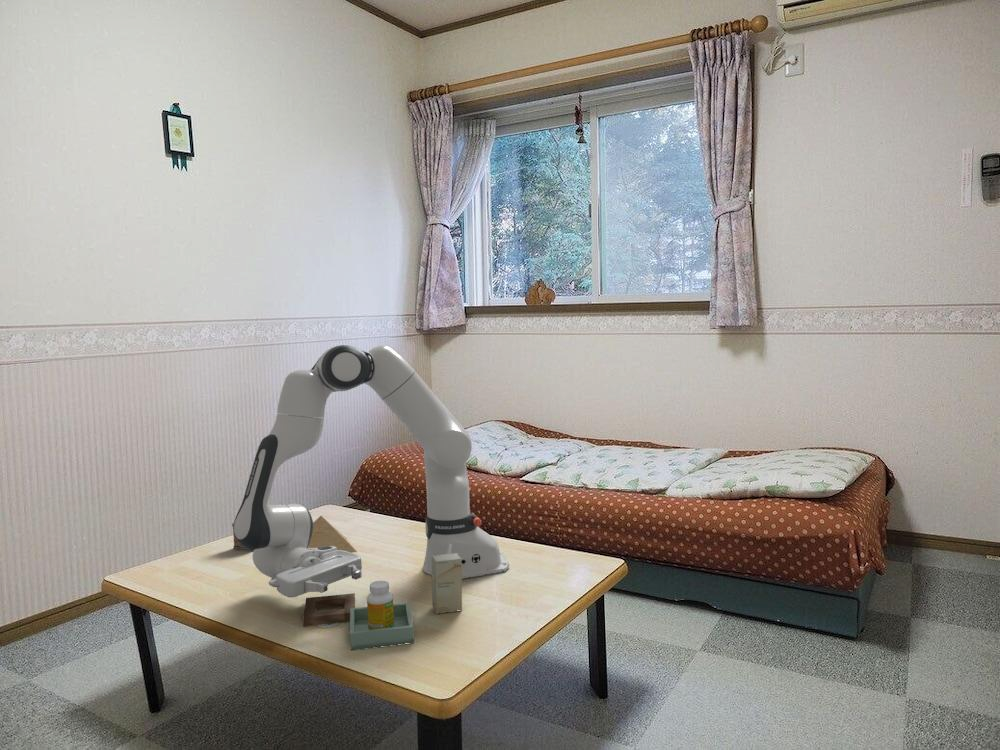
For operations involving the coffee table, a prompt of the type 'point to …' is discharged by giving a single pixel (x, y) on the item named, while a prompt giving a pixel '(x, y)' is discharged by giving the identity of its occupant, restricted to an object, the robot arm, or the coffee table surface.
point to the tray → (381, 637)
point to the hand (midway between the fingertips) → (342, 581)
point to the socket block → (328, 616)
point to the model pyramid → (328, 536)
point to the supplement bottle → (380, 606)
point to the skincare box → (446, 583)
